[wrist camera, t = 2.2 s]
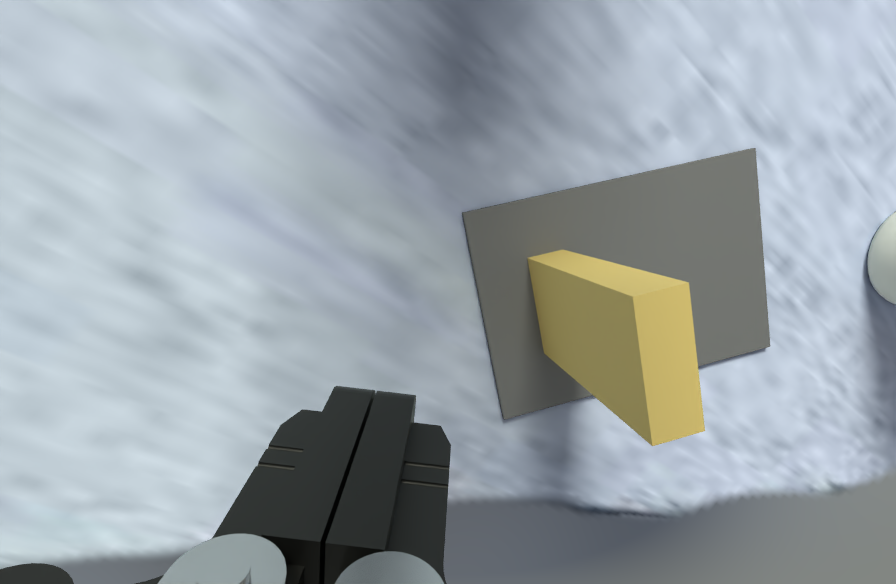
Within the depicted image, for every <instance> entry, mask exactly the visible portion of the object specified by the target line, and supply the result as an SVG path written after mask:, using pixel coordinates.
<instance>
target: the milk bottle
mask: <svg viewBox="0 0 896 584" xmlns="http://www.w3.org/2000/svg"><path fill="white" fill-rule="evenodd" d="M867 264H868V274H869V277H870V281H871V283H872V285H873V287H874V289H875V290H876V291H877V292H878V294H879V295H881V296H882V297H883V298H885V299H886V300H887V301H889V302H890V303H893V304H895V305H896V211H895V212H894V213H893V214H892V215H890V216H889V217H888V218H887V219H886V220H885V221H884V222H883V223H882V224H881V226H880V227H879V229H878V230H877V232H876V233H875V236H874V238H873V240H872V242H871V245H870V249H869V253H868V262H867Z"/></svg>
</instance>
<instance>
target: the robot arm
mask: <svg viewBox="0 0 896 584" xmlns="http://www.w3.org/2000/svg"><path fill="white" fill-rule="evenodd" d="M415 404H416V395H409V394H400V393H392V392H383V391H377V393H375V390H367V389H359V388H350V387H341V386H335V387H334V389H333V391H332V393H331V395H330V397H329V399H328V401H327V403H326V405H325V407H324V409H323V411H322V412H319V411H311V410H301V411H300V412H298V413H297V414H295V415H294V416H293V417H291V418H290V419H288V420H287V421H286V422H284V423H283V424H282V425H281V426H280V427H279V429H278V431H277V432H276V434H275V436H274V437H273V439H272V441H271V442H270V444H269V448H268V449H266V450H265V452H264V454H263V455H262V457H261V459H260V460H259V463H258V467H257V466H256V467H255V469H254V470H253V472H252V474H251V475H250V477H249V479H248V480H247V482H246V484H245V485H244V487H243V488H242V490H241V492H240V493H239V495H238V497H237V498H236V500H235V502H234V503H233V505H232V507H231V508H230V510H229V512H228V513H227V515H226V517H225V518H224V520H223V522H222V523H221V525H220V527H219V528H218V530H217V531H216V533H215V535H214V536H213V538H212V539H210V540H207V541H205V542H202V543H201V544H199V545H197V546H195V547H193V548H192V549H190V550H189V551H187V552H186V553H184V554H183V555H182V556H181V557H180V558H179V559H178V560H176V561H175V562H174V564H173V565H172V566H171V567H170V568H169V569H168V571H167V572H166V573H165V575H163V576H160V577H158V578H155V579H151V580H148V581H146V582H140V583H136V584H446V581H445V577H444V572H443V558H444V543H445V527H446V512H447V496H448V481H449V465H450V450H451V444H450V443H449V441H448V439H447V437H446V435H445V433H444V431H443V430H442V428H441V426H437V425H429V424H420V423H414V415H415ZM0 584H74V583H73V580H72V578H71V577H70V576H69V574H68V573H67V572H65V571H64V570H63V569H61V568H59V567H56V566H53V565H48V564H36V563H31V564H22V565H16V566H12V567H7V568H4V569H0Z"/></svg>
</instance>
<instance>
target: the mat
mask: <svg viewBox="0 0 896 584" xmlns="http://www.w3.org/2000/svg"><path fill="white" fill-rule="evenodd" d="M462 215H463V220H464V225H465V230H466V236H467V241H468V246H469V251H470V256H471V261H472V266H473V271H474V276H475V281H476V286H477V291H478V296H479V301H480V306H481V311H482V316H483V321H484V326H485V331H486V336H487V341H488V346H489V351H490V356H491V361H492V366H493V371H494V376H495V381H496V386H497V391H498V396H499V401H500V406H501V411H502V416H503V418H504V420H505V419H509V418H512V417H516V416H520V415H523V414H527V413H530V412H534V411H538V410H541V409H545V408H549V407H552V406H556V405H560V404H563V403H567V402H570V401H574V400H578V399H581V398H585V397H589V396H592V394H591V393H590V392H589V391H588V390H586V389H585V388H584V387H583V386H582V385H581V384H579V383H578V382H577V381H576V380H575V379H574V378H572V377H571V376H570V375H569V374H568V373H567V372H565V371H564V370H563V369H562V368H561V367H560V366H558V365H557V364H556V363H555V362H554V361H553V360H551V359H550V358H549V357H548V356H547V355H546V354H544V350H543V344H542V339H541V333H540V327H539V322H538V316H537V310H536V304H535V299H534V293H533V287H532V282H531V276H530V270H529V265H528V259H527V258H529V257H533V256H538V255H542V254H546V253H550V252H554V251H559V250H567V251H570V252H574V253H578V254H582V255H586V256H589V257H593V258H597V259H601V260H605V261H609V262H612V263H616V264H620V265H624V266H628V267H632V268H635V269H639V270H643V271H647V272H651V273H654V274H658V275H662V276H666V277H670V278H674V279H677V280H681V281H685V282H689V288H690V297H691V307H692V316H693V325H694V335H695V344H696V353H697V362H698V366H701V365H705V364H709V363H712V362H716V361H720V360H723V359H727V358H730V357H734V356H738V355H741V354H745V353H749V352H752V351H756V350H760V349H763V348H767V347H770V337H769V324H768V310H767V297H766V283H765V270H764V256H763V243H762V230H761V216H760V203H759V189H758V176H757V163H756V149H755V148H752V149H747V150H743V151H738V152H734V153H729V154H725V155H720V156H715V157H711V158H706V159H702V160H697V161H693V162H688V163H684V164H679V165H675V166H670V167H666V168H661V169H657V170H652V171H648V172H643V173H639V174H634V175H630V176H625V177H621V178H616V179H612V180H607V181H603V182H598V183H594V184H589V185H585V186H580V187H576V188H571V189H567V190H562V191H558V192H553V193H549V194H544V195H540V196H535V197H531V198H526V199H522V200H517V201H513V202H508V203H504V204H499V205H495V206H490V207H486V208H481V209H477V210H472V211H468V212H463V213H462Z"/></svg>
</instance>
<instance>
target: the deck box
mask: <svg viewBox="0 0 896 584" xmlns="http://www.w3.org/2000/svg"><path fill="white" fill-rule="evenodd" d="M527 259H528V265H529V270H530V276H531V282H532V287H533V293H534V299H535V304H536V310H537V316H538V322H539V327H540V333H541V339H542V344H543V350H544V354H546V355H547V356H548V357H549V358H550V359H551V360H553V361H554V362H555V363H556V364H557V365H558V366H560V367H561V368H562V369H563V370H564V371H565V372H567V373H568V374H569V375H570V376H571V377H572V378H574V379H575V380H576V381H577V382H578V383H579V384H581V385H582V386H583V387H584V388H585V389H586V390H588V391H589V392H590V393H591V394H592V395H593V396H595V397H596V398H597V399H598V400H599V401H600V402H602V403H603V404H604V405H605V406H606V407H607V408H609V409H610V410H611V411H612V412H613V413H614V414H616V415H617V416H618V417H619V418H620V419H621V420H623V421H624V422H625V423H626V424H627V425H628V426H630V427H631V428H632V429H633V430H634V431H635V432H637V433H638V434H639V435H640V436H641V437H642V438H644V439H645V440H646V441H647V442H648V443H649V444H651V445H652V446H655V445H658V444H662V443H665V442H669V441H672V440H675V439H679V438H682V437H686V436H689V435H692V434H696V433H699V432H703V431H705V427H704V418H703V409H702V400H701V390H700V381H699V372H698V362H697V353H696V344H695V335H694V325H693V316H692V307H691V297H690V288H689V282H685V281H681V280H677V279H674V278H670V277H666V276H662V275H658V274H654V273H651V272H647V271H643V270H639V269H635V268H632V267H628V266H624V265H620V264H616V263H612V262H609V261H605V260H601V259H597V258H593V257H589V256H586V255H582V254H578V253H574V252H570V251H567V250H559V251H554V252H550V253H546V254H542V255H538V256H533V257H529V258H527Z"/></svg>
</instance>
